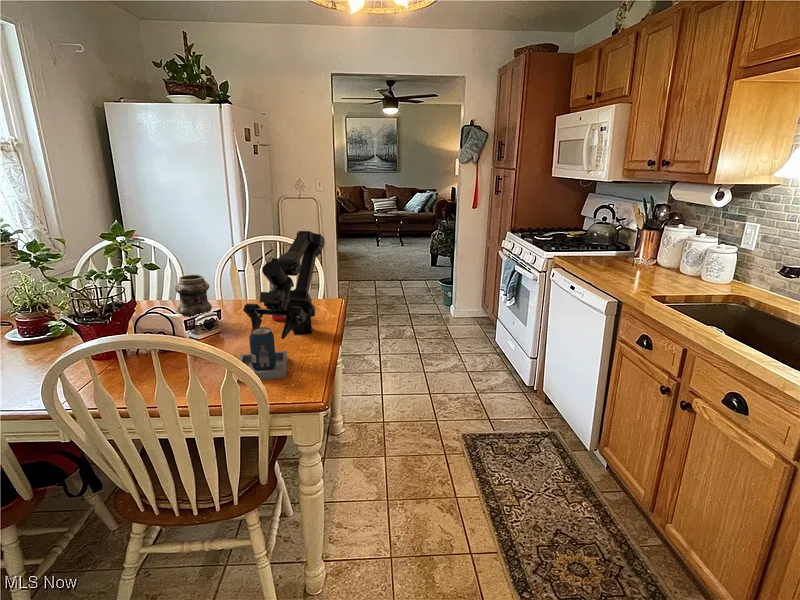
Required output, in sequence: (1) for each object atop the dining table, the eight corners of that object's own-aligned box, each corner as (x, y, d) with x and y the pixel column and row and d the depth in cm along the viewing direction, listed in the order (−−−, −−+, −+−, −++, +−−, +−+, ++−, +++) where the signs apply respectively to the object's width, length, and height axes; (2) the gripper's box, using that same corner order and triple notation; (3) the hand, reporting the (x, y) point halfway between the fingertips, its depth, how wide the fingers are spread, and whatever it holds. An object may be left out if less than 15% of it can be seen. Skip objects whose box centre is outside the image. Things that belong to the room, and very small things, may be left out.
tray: (287, 358, 144) (286, 350, 143) (286, 378, 131) (285, 370, 130) (241, 361, 141) (240, 354, 140) (235, 382, 128) (234, 374, 127)
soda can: (266, 361, 140) (263, 324, 137) (281, 367, 136) (278, 329, 133) (247, 368, 135) (243, 331, 131) (262, 375, 131) (258, 336, 127)
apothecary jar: (217, 322, 174) (212, 277, 169) (184, 329, 167) (177, 282, 161) (208, 314, 183) (202, 271, 178) (175, 321, 176) (169, 276, 170)
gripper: (242, 278, 139) (227, 324, 132) (300, 281, 136) (288, 329, 129) (257, 295, 149) (244, 339, 142) (311, 298, 146) (300, 343, 139)
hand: (268, 337), depth 138 cm, fingers open, 9 cm apart
